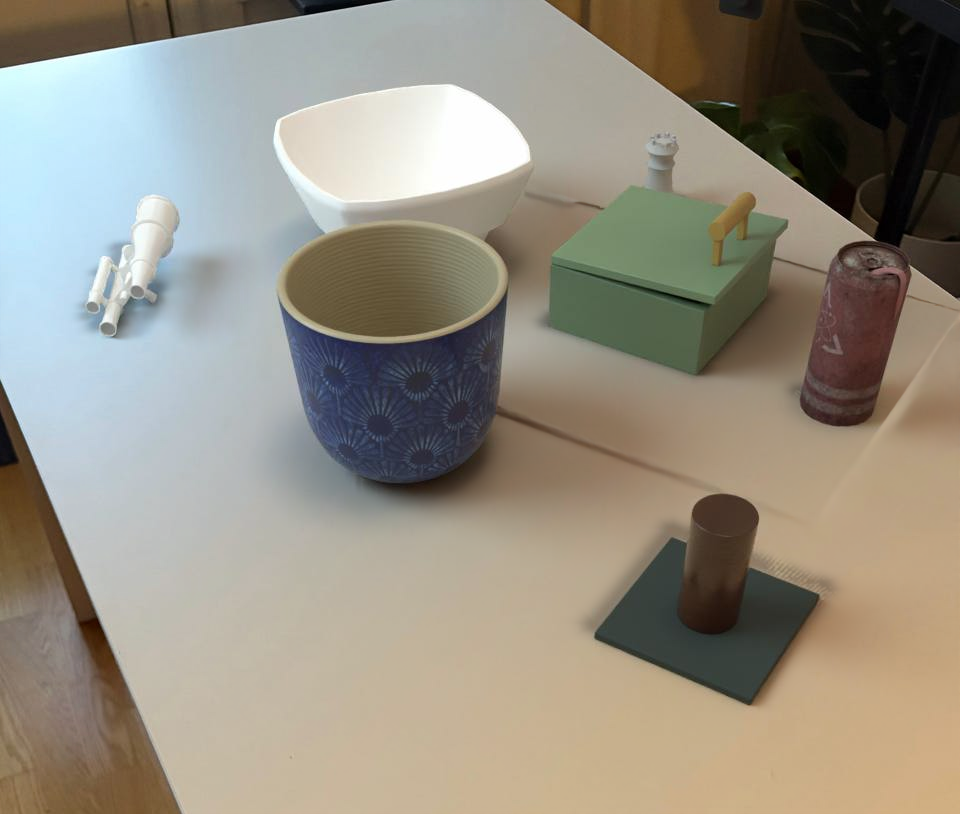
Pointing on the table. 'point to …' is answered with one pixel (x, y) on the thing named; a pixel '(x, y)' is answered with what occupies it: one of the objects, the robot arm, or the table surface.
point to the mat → (708, 657)
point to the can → (855, 332)
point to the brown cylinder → (717, 562)
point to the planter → (396, 344)
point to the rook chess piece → (661, 162)
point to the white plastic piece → (135, 261)
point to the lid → (672, 243)
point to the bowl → (405, 159)
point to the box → (654, 315)
